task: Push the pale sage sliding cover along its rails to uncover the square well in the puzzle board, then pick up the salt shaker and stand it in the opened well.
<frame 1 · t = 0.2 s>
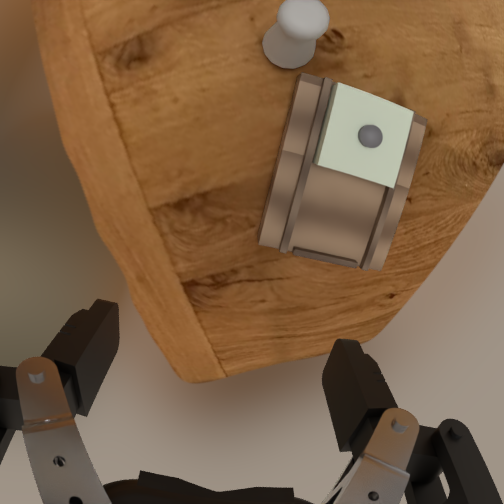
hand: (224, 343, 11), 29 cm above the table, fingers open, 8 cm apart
cover: (366, 135, 31), point 5 cm above the table, slide at 0.0 cm
salt shaker: (286, 50, 32), on the table
board: (341, 173, 37), on the table
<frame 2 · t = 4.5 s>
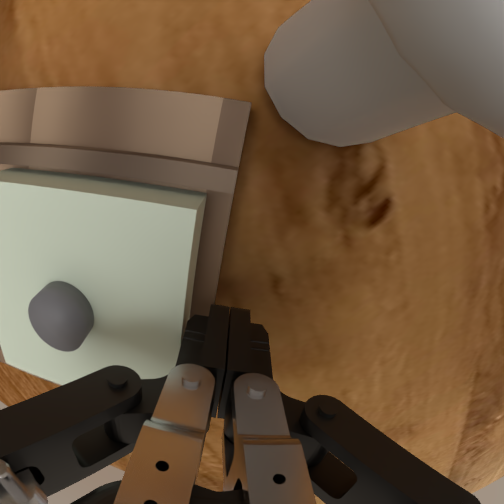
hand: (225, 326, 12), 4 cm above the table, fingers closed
cover: (74, 300, 11), point 5 cm above the table, slide at 0.5 cm, touching gripper
salt shaker: (323, 82, 13), on the table
board: (46, 238, 15), on the table
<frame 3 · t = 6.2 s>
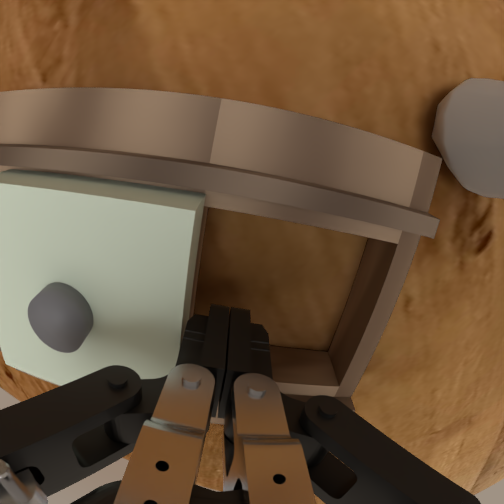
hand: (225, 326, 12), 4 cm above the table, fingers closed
cover: (74, 301, 11), point 5 cm above the table, slide at 8.4 cm, touching gripper
salt shaker: (459, 133, 14), on the table
board: (179, 265, 16), on the table
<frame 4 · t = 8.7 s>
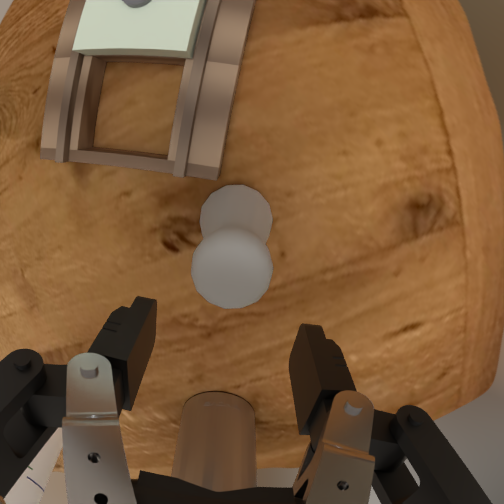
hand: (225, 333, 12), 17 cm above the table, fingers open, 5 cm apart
cylindrical container: (49, 425, 41), on the table
salt shaker: (236, 212, 28), on the table
board: (149, 52, 22), on the table
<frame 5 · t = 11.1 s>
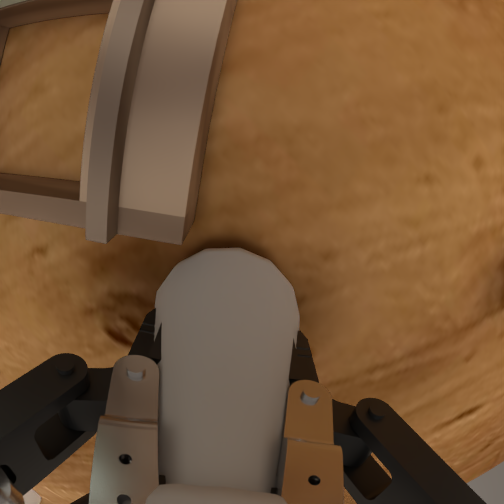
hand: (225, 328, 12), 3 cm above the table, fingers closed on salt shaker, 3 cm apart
cylindrical container: (21, 486, 28), on the table
salt shaker: (229, 287, 15), on the table, touching gripper
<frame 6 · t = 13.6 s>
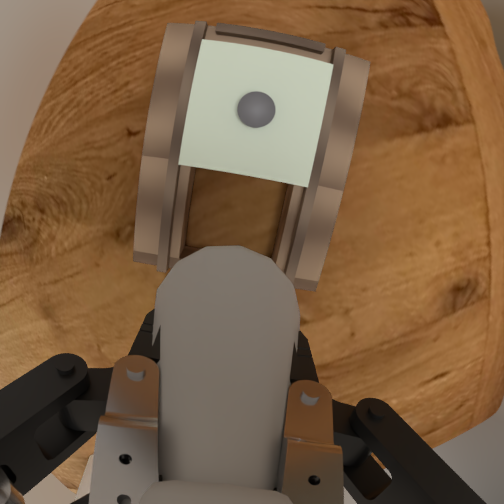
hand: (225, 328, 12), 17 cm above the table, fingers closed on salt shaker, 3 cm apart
cover: (255, 110, 21), point 5 cm above the table, slide at 8.5 cm
cylindrical container: (107, 463, 44), on the table
salt shaker: (229, 285, 15), point 14 cm above the table, touching gripper
board: (245, 154, 26), on the table
when the fingers open (5 cm above the table, at t = 16.1 s): salt shaker drops 1 cm, resting in board.
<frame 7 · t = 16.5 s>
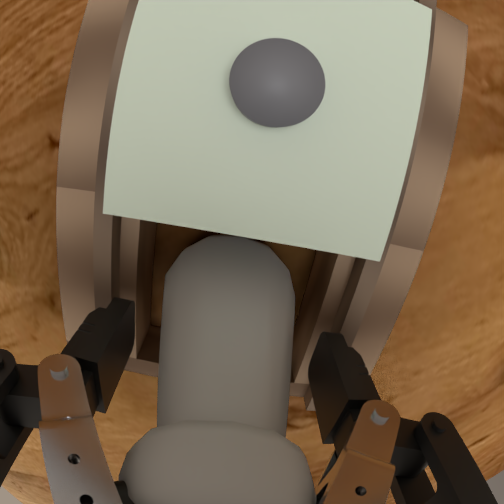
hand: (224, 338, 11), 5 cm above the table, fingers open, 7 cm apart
cover: (272, 89, 9), point 5 cm above the table, slide at 8.5 cm
salt shaker: (230, 273, 17), resting in board
board: (248, 177, 15), on the table
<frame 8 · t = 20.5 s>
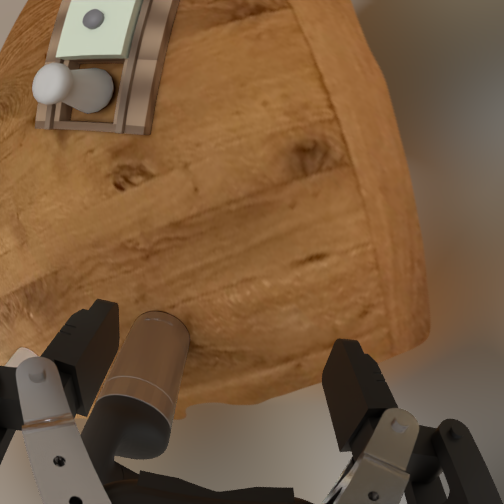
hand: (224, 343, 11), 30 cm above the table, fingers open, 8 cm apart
cover: (97, 21, 26), point 5 cm above the table, slide at 8.5 cm
cylindrical container: (30, 360, 50), on the table
salt shaker: (100, 92, 34), resting in board
board: (107, 56, 32), on the table
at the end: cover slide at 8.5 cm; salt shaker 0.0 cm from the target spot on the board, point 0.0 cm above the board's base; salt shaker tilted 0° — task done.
